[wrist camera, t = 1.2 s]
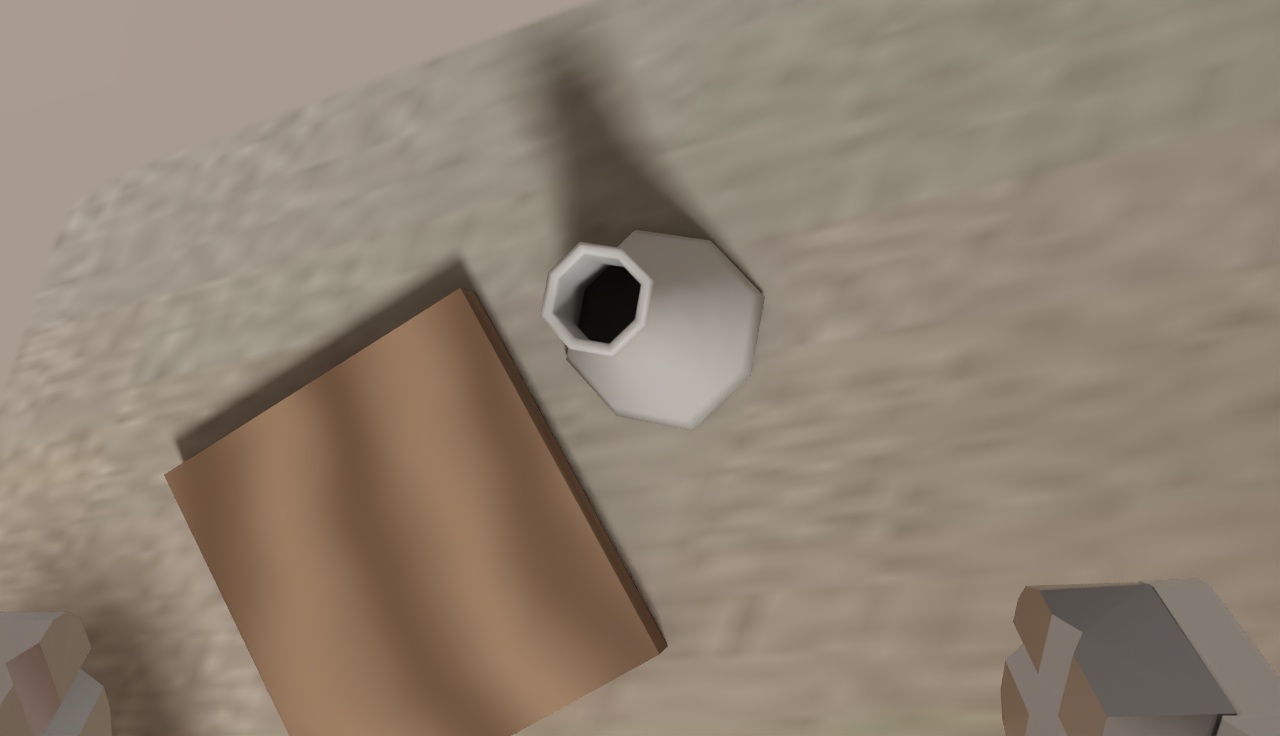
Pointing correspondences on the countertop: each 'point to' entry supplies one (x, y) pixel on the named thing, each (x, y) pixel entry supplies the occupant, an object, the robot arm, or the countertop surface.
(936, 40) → the countertop surface
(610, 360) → the flask
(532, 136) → the countertop surface
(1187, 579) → the robot arm
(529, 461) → the walnut board
